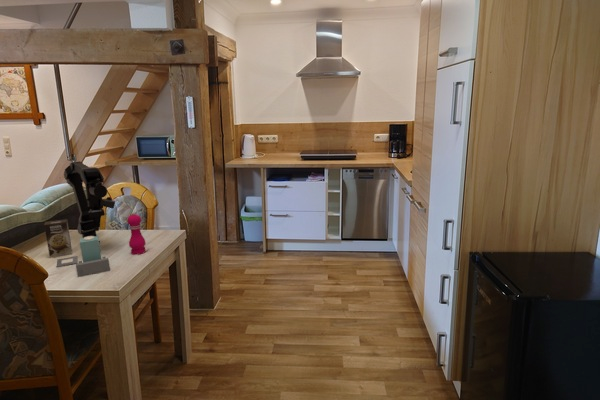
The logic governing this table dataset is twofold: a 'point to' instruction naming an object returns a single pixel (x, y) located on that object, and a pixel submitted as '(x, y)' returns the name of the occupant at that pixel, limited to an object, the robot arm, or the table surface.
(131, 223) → the pepper mill
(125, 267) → the table surface
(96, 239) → the teal tall block
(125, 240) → the table surface
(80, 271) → the gray support stand
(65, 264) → the card
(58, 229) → the cookie box
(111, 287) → the table surface
